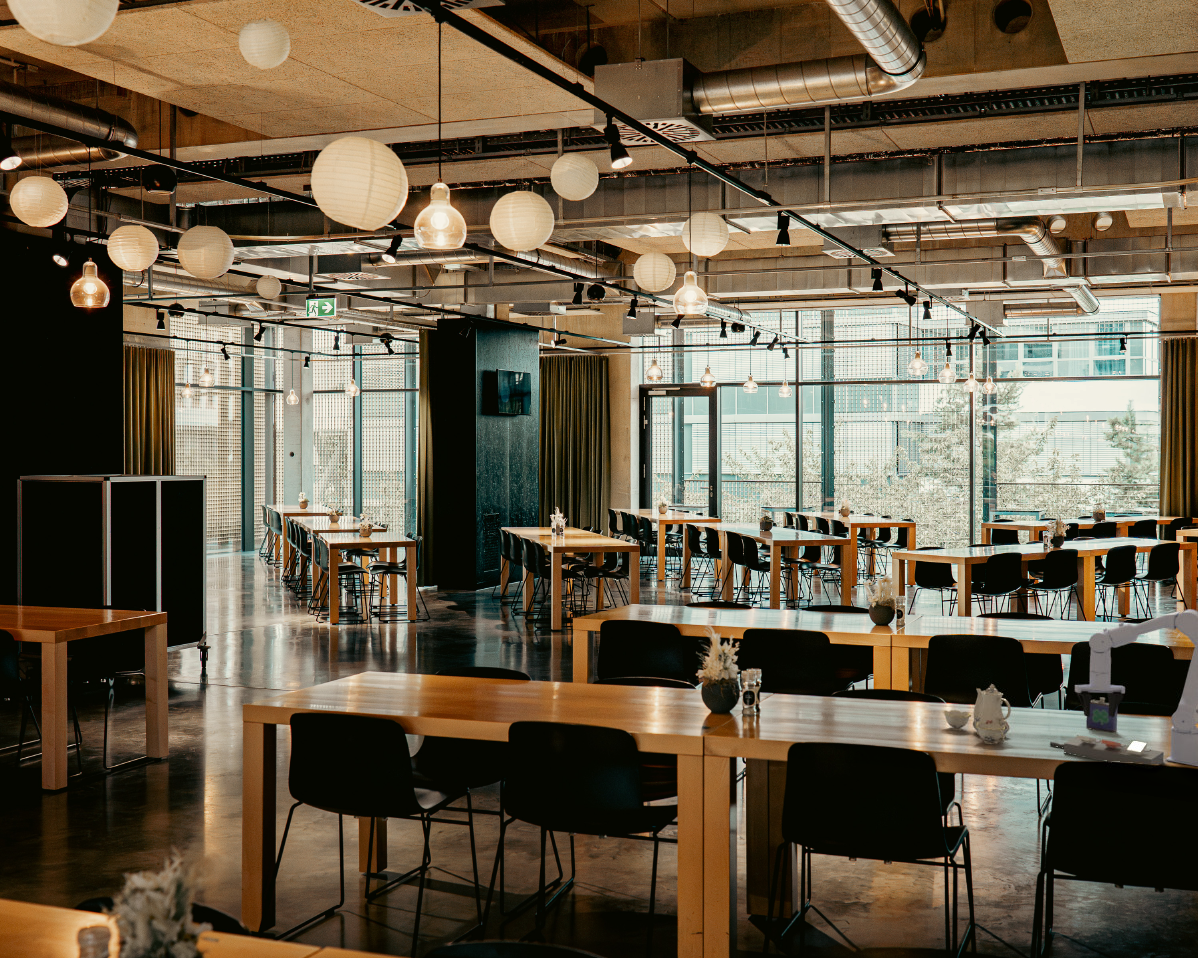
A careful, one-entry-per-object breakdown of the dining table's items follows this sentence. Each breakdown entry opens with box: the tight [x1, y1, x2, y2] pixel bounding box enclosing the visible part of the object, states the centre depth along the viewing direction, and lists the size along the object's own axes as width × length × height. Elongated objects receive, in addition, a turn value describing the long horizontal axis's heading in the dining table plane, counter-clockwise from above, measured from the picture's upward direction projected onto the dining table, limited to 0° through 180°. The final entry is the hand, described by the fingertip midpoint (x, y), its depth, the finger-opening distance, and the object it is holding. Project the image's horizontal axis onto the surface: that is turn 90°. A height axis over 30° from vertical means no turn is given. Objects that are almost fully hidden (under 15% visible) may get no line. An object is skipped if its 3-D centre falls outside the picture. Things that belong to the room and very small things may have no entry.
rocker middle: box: [1101, 739, 1122, 748], centre depth 315 cm, size 4×6×2 cm, turn 138°
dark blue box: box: [1085, 697, 1119, 733], centre depth 351 cm, size 9×3×11 cm, turn 51°
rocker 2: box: [1127, 740, 1148, 755], centre depth 311 cm, size 4×6×2 cm, turn 137°
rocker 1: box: [1076, 734, 1097, 743], centre depth 320 cm, size 4×6×2 cm, turn 138°
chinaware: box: [943, 683, 1012, 745], centre depth 340 cm, size 28×17×17 cm, turn 20°
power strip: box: [1049, 736, 1165, 765], centre depth 319 cm, size 30×12×3 cm, turn 47°
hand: (1099, 716), depth 328 cm, fingers open, 7 cm apart
